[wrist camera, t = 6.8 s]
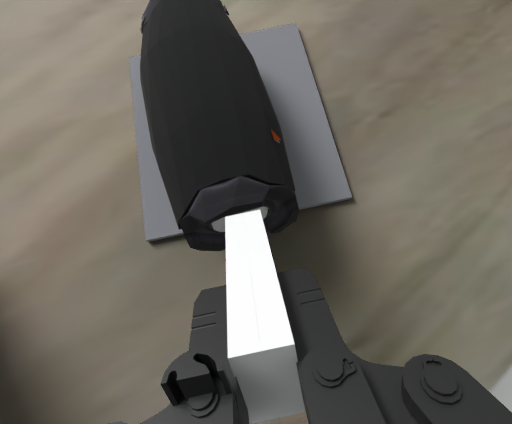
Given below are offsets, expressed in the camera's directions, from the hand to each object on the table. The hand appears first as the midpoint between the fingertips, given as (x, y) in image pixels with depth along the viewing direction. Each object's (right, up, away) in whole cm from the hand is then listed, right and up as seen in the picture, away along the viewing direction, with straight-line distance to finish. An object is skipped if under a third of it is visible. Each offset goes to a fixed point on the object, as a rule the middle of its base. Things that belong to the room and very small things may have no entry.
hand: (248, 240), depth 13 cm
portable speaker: (0, 0, +6) cm, 6 cm away
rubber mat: (-2, +10, +16) cm, 19 cm away
